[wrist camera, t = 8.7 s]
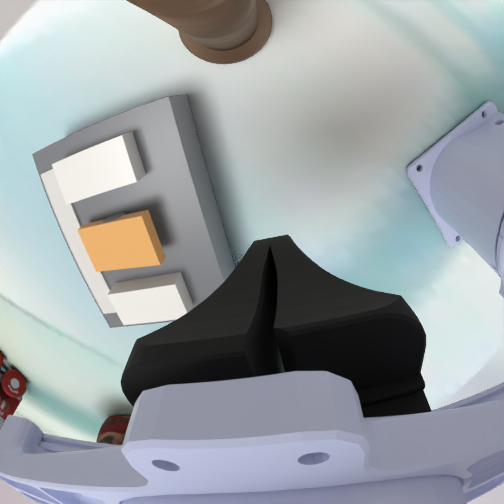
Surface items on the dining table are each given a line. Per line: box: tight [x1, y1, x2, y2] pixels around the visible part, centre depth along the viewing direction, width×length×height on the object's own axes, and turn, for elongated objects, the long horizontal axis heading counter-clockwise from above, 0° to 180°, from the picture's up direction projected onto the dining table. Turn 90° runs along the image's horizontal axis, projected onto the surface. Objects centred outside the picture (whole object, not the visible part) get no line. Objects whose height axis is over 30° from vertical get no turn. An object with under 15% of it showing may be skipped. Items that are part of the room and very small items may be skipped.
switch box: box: [32, 95, 235, 328], centre depth 20 cm, size 10×14×5 cm
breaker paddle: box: [77, 210, 166, 272], centre depth 18 cm, size 5×3×2 cm, turn 103°
